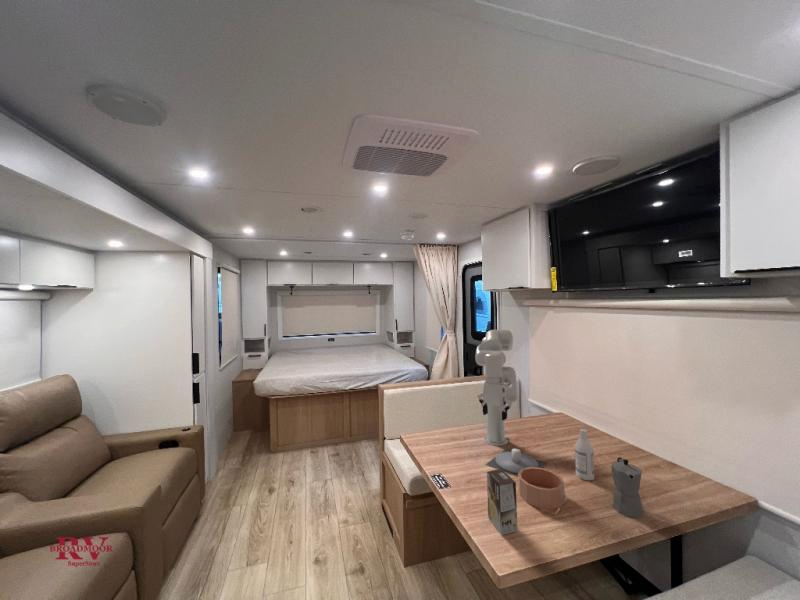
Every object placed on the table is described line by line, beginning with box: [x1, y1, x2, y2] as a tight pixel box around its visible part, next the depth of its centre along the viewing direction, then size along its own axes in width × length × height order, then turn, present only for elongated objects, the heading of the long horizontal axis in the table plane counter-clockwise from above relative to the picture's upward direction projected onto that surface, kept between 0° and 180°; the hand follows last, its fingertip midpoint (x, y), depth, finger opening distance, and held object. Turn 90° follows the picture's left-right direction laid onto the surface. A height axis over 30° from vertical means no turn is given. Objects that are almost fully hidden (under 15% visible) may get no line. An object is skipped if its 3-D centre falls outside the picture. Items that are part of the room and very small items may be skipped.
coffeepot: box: [610, 457, 644, 519], centre depth 112 cm, size 15×9×18 cm, turn 159°
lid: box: [494, 448, 539, 474], centre depth 144 cm, size 19×19×6 cm
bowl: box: [517, 467, 566, 510], centre depth 120 cm, size 16×16×7 cm
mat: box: [485, 449, 548, 478], centre depth 144 cm, size 21×21×1 cm
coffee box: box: [486, 469, 518, 536], centre depth 105 cm, size 9×6×16 cm
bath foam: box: [574, 428, 595, 481], centre depth 133 cm, size 7×7×20 cm
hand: (494, 416), depth 142 cm, fingers open, 9 cm apart
